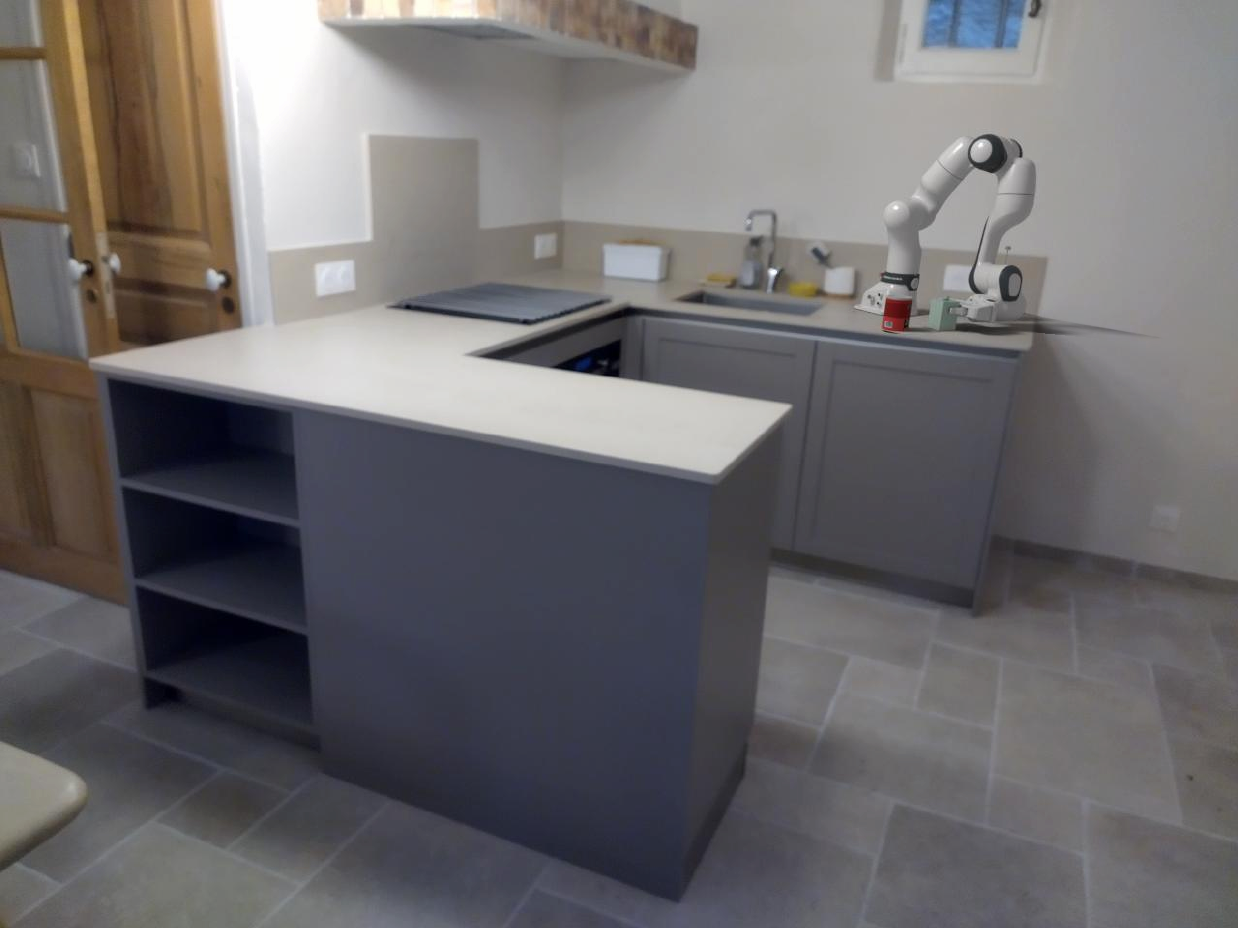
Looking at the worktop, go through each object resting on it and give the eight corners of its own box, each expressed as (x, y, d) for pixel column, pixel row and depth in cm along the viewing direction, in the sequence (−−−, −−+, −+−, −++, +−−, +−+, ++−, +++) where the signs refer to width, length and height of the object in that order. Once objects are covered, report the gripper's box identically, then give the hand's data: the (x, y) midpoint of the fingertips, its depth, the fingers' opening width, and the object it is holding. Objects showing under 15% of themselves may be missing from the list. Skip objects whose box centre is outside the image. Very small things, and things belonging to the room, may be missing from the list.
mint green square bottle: (927, 327, 289) (932, 294, 286) (943, 327, 291) (948, 295, 288) (938, 330, 284) (944, 297, 280) (954, 330, 285) (960, 298, 282)
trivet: (919, 329, 290) (920, 326, 290) (943, 328, 293) (944, 326, 293) (937, 334, 282) (937, 331, 282) (961, 334, 285) (961, 331, 285)
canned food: (909, 334, 280) (914, 299, 276) (882, 332, 281) (887, 297, 277) (906, 330, 287) (911, 295, 283) (880, 328, 288) (885, 293, 284)
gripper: (959, 293, 297) (923, 293, 293) (1001, 303, 279) (963, 303, 275) (956, 312, 299) (920, 313, 295) (998, 323, 281) (960, 324, 277)
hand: (941, 308), depth 285 cm, fingers open, 6 cm apart
